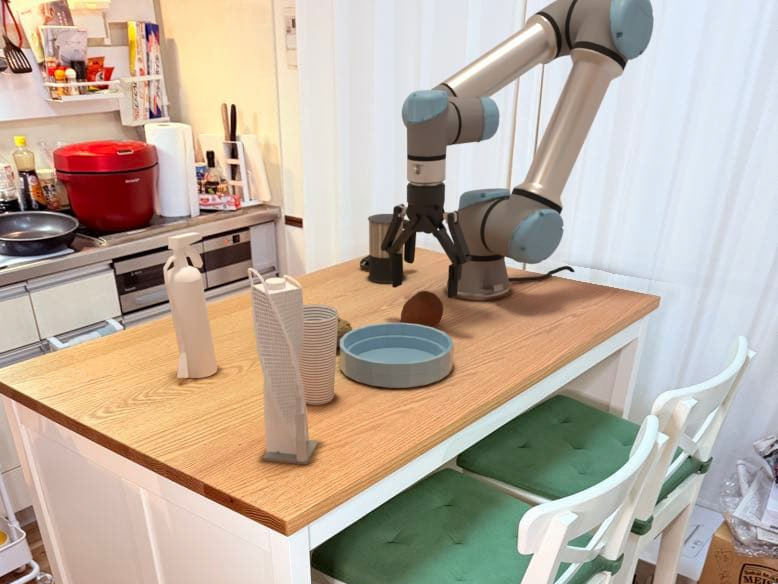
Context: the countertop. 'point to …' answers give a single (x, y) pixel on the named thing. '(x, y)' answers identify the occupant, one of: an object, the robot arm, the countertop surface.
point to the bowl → (396, 355)
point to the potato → (423, 309)
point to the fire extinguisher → (189, 309)
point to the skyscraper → (281, 367)
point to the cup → (319, 353)
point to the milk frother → (380, 259)
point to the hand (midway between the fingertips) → (424, 291)
